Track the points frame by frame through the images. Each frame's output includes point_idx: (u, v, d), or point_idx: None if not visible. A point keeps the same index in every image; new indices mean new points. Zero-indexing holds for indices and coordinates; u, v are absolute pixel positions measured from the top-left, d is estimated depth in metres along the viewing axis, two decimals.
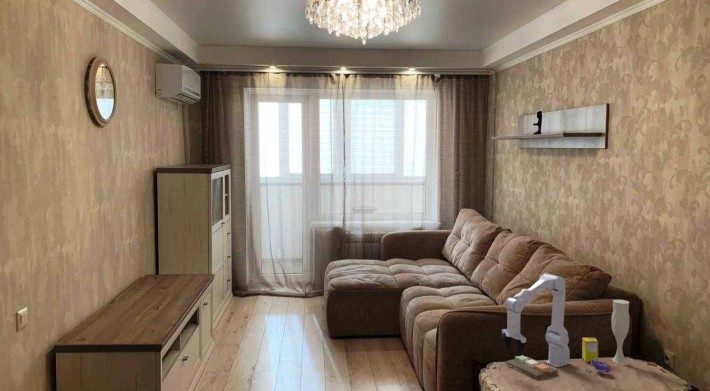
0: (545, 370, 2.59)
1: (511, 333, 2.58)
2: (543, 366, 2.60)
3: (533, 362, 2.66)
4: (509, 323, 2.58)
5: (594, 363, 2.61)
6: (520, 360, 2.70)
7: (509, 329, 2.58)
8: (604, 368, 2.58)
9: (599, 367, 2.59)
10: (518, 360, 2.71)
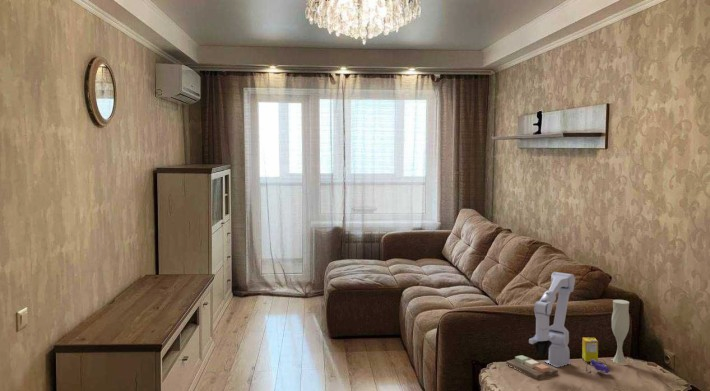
0: (545, 370, 2.59)
1: None
2: (543, 366, 2.60)
3: (533, 362, 2.66)
4: (540, 327, 2.57)
5: (594, 363, 2.61)
6: (520, 360, 2.70)
7: None
8: (604, 368, 2.58)
9: (599, 367, 2.59)
10: (518, 360, 2.71)
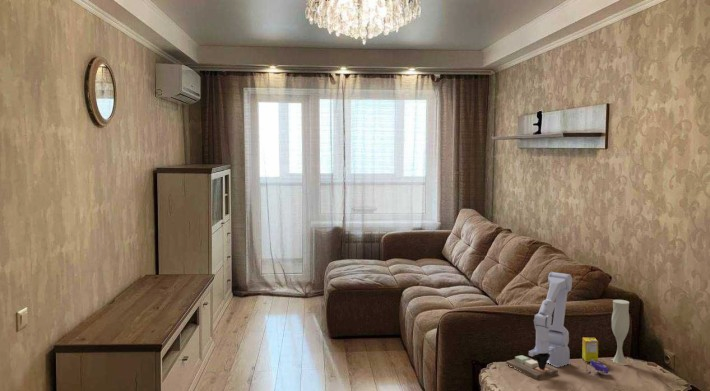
0: None
1: None
2: None
3: (533, 362, 2.66)
4: (540, 339, 2.57)
5: (593, 364, 2.60)
6: (520, 360, 2.70)
7: None
8: (603, 369, 2.57)
9: (598, 368, 2.58)
10: (518, 360, 2.71)
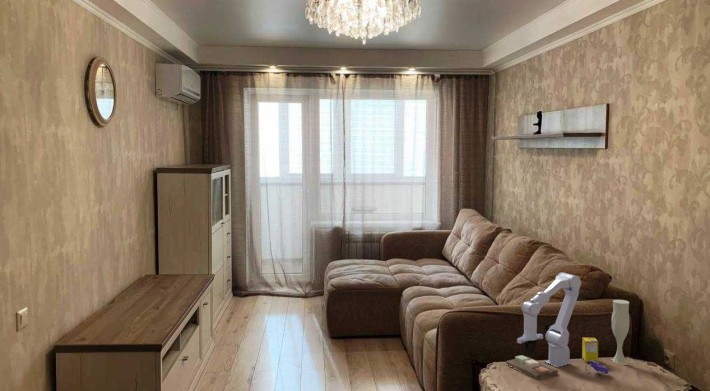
0: None
1: None
2: (543, 369, 2.61)
3: (533, 362, 2.66)
4: (525, 326, 2.65)
5: (593, 364, 2.60)
6: (520, 360, 2.70)
7: None
8: (603, 369, 2.57)
9: (598, 368, 2.58)
10: (518, 360, 2.71)
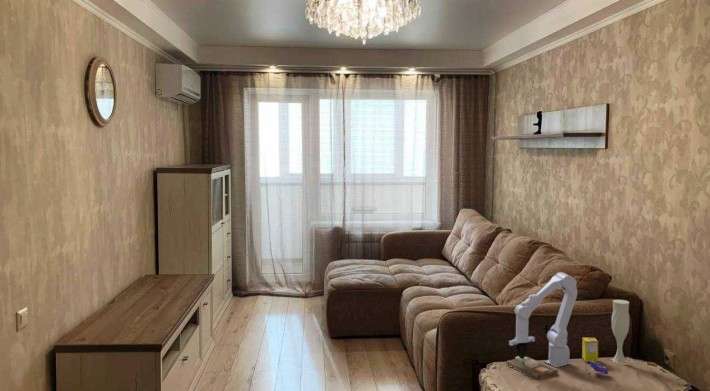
0: None
1: None
2: (543, 369, 2.61)
3: (533, 362, 2.66)
4: (516, 328, 2.71)
5: (593, 365, 2.59)
6: (520, 360, 2.70)
7: None
8: (603, 370, 2.56)
9: (598, 369, 2.57)
10: (518, 360, 2.71)
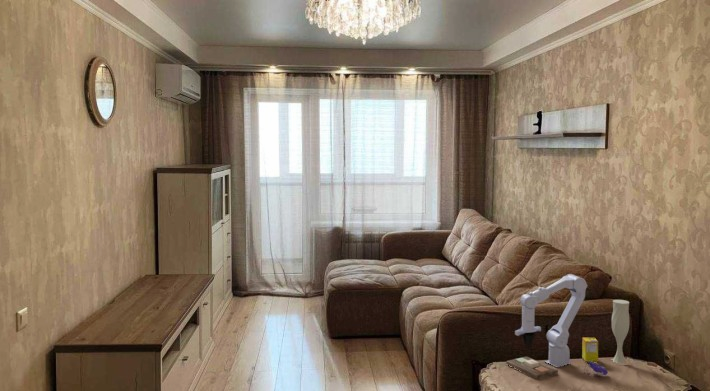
0: None
1: None
2: (543, 369, 2.61)
3: (533, 362, 2.66)
4: (522, 318, 2.69)
5: (592, 365, 2.58)
6: None
7: None
8: (602, 370, 2.56)
9: (597, 369, 2.56)
10: None
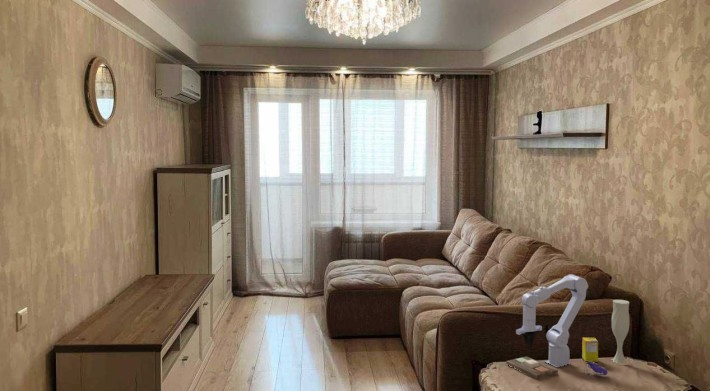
0: None
1: None
2: (543, 369, 2.61)
3: (533, 362, 2.66)
4: (524, 317, 2.69)
5: (592, 366, 2.58)
6: None
7: None
8: (602, 371, 2.55)
9: (597, 370, 2.56)
10: None
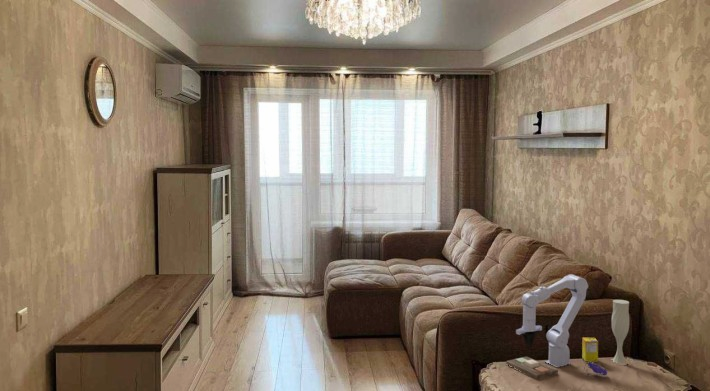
0: None
1: None
2: (543, 369, 2.61)
3: (533, 362, 2.66)
4: (524, 317, 2.69)
5: (592, 366, 2.58)
6: None
7: None
8: (602, 371, 2.55)
9: (597, 370, 2.56)
10: None
